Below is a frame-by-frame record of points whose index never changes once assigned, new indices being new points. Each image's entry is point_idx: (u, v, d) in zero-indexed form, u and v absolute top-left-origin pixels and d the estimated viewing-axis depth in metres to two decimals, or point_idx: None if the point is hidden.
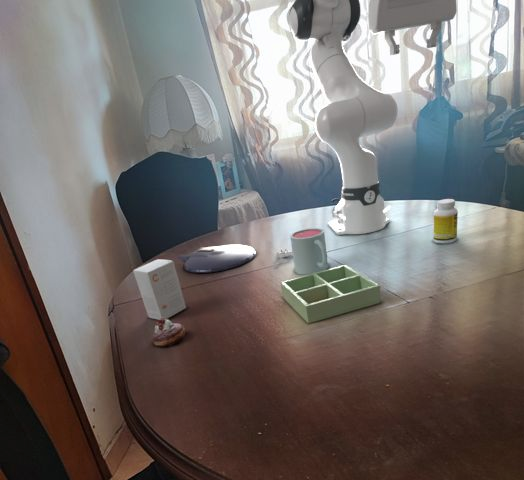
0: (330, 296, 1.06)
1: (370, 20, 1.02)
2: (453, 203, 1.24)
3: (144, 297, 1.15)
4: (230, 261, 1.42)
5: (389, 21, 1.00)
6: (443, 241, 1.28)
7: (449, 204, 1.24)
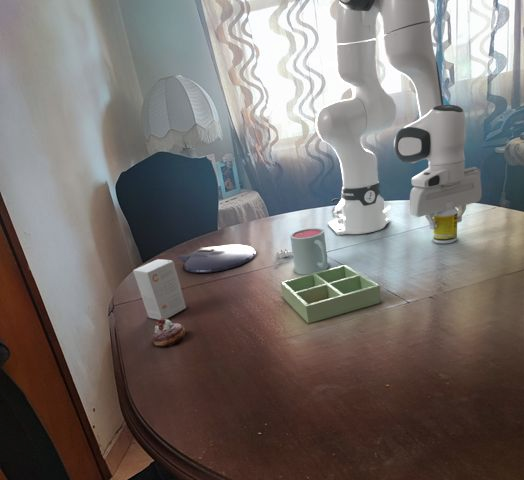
0: (330, 296, 1.06)
1: (411, 206, 1.24)
2: (453, 203, 1.24)
3: (144, 297, 1.15)
4: (230, 261, 1.42)
5: (427, 209, 1.23)
6: (443, 241, 1.28)
7: (449, 204, 1.24)
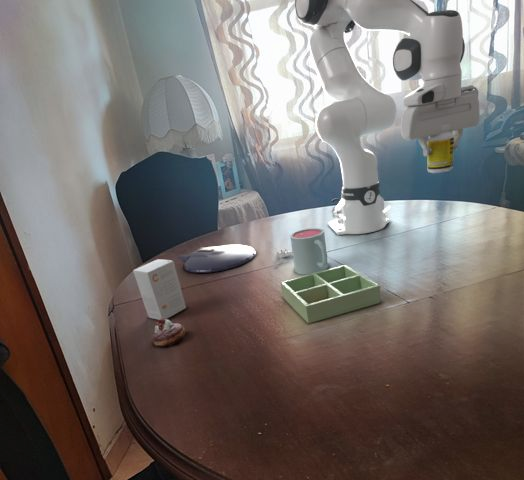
0: (330, 296, 1.06)
1: (403, 129, 1.13)
2: (449, 126, 1.13)
3: (144, 297, 1.15)
4: (230, 261, 1.42)
5: (420, 131, 1.12)
6: (438, 170, 1.17)
7: (445, 126, 1.13)
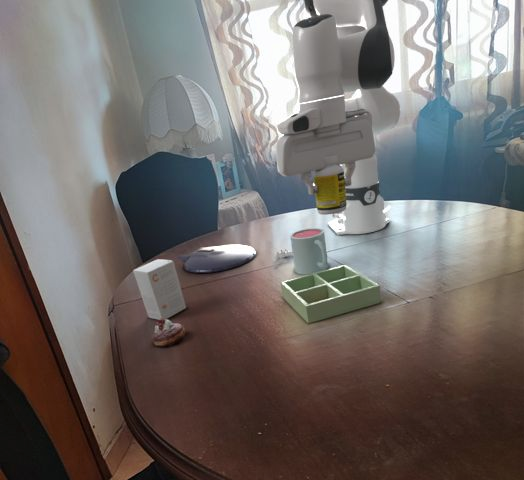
0: (330, 296, 1.06)
1: (278, 162, 0.91)
2: (335, 158, 0.91)
3: (144, 297, 1.15)
4: (230, 261, 1.42)
5: (298, 165, 0.90)
6: (327, 211, 0.95)
7: (329, 159, 0.91)
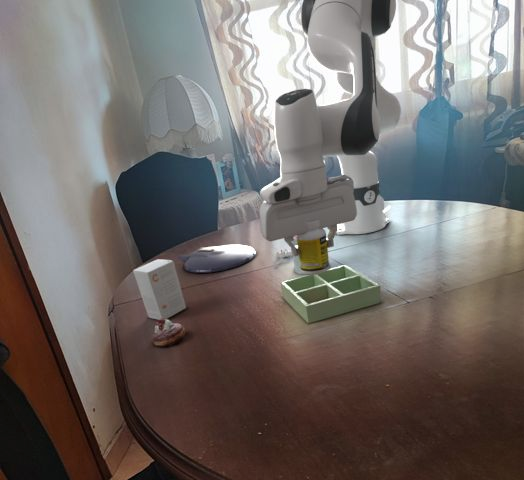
0: (330, 296, 1.06)
1: (261, 227, 0.93)
2: (317, 223, 0.93)
3: (144, 297, 1.15)
4: (230, 261, 1.42)
5: (280, 231, 0.92)
6: (309, 272, 0.97)
7: (311, 224, 0.93)
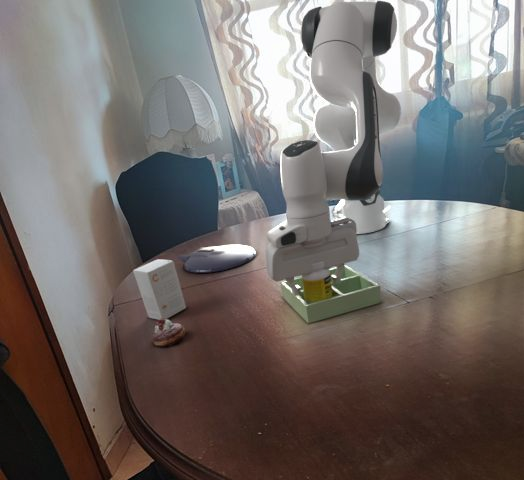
0: None
1: (268, 268, 0.98)
2: (322, 264, 0.98)
3: (144, 297, 1.15)
4: (230, 261, 1.42)
5: (286, 272, 0.96)
6: None
7: (316, 266, 0.97)
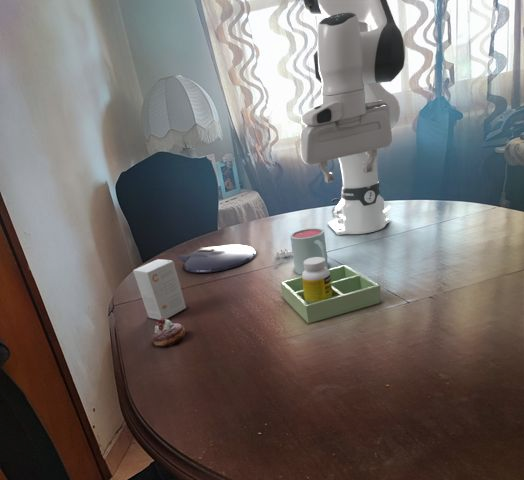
0: None
1: (302, 151, 0.99)
2: (322, 264, 0.98)
3: (144, 297, 1.15)
4: (230, 261, 1.42)
5: (320, 154, 0.97)
6: None
7: (316, 266, 0.97)
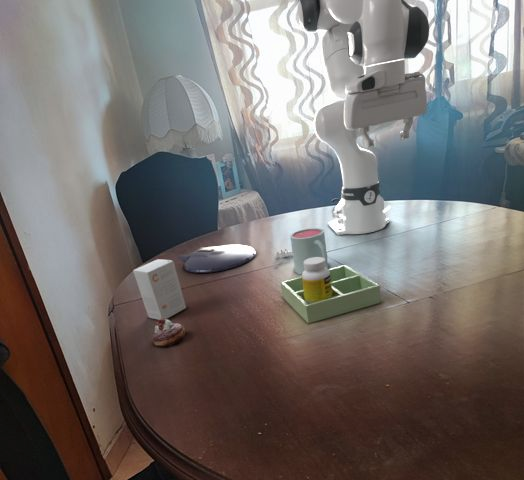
0: None
1: (345, 118, 1.08)
2: (322, 264, 0.98)
3: (144, 297, 1.15)
4: (230, 261, 1.42)
5: (363, 120, 1.06)
6: None
7: (316, 266, 0.97)
